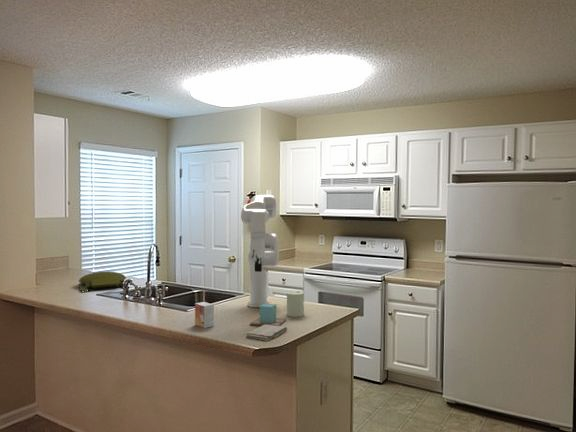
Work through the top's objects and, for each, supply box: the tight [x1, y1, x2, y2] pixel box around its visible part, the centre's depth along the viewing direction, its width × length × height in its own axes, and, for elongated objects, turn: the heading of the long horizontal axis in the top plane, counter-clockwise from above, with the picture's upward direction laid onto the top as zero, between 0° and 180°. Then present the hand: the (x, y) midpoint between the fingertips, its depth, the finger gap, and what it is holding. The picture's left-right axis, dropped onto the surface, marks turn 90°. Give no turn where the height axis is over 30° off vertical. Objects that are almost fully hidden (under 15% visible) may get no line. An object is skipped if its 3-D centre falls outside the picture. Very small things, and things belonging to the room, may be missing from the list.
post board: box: [249, 316, 287, 327], centre depth 222 cm, size 13×14×8 cm
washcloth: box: [245, 325, 288, 342], centre depth 204 cm, size 12×18×3 cm, turn 154°
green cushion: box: [78, 271, 127, 292], centre depth 318 cm, size 35×31×10 cm
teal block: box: [259, 303, 277, 323], centre depth 222 cm, size 6×6×8 cm
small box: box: [194, 301, 215, 329], centre depth 218 cm, size 8×6×10 cm
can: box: [286, 290, 305, 318], centre depth 238 cm, size 9×9×12 cm
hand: (258, 271), depth 229 cm, fingers closed
